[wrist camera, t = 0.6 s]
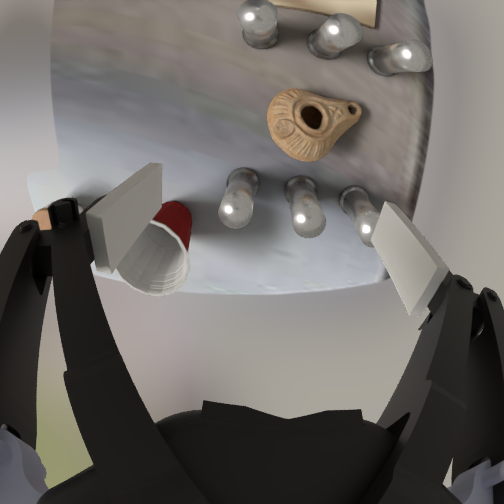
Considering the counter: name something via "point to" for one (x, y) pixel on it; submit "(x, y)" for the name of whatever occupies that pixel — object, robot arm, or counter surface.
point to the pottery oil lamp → (309, 122)
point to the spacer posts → (301, 187)
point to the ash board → (335, 8)
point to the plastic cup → (160, 253)
